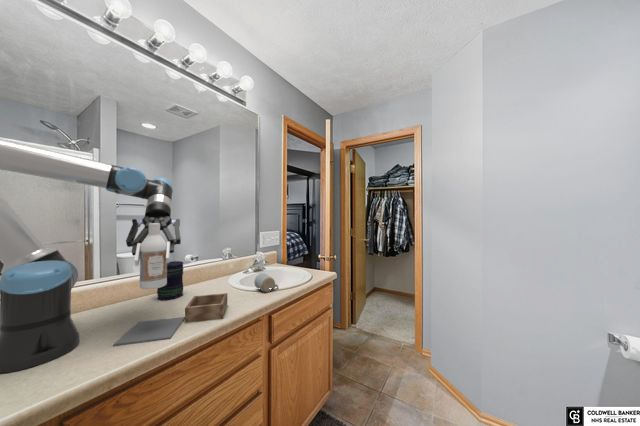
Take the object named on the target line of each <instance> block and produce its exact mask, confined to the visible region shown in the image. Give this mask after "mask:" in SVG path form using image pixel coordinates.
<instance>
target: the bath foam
mask: <svg viewBox="0 0 640 426" xmlns="http://www.w3.org/2000/svg"><path fill="white" fill-rule="evenodd" d="M166 250H167V242H166V241H165V239H164V238H163V237H162V235H161V230H160V223H150V224H149V234H148V235H147V237H146V238H145V239H144V241H143V242H142V243H141V249H140V261H139V289H141V290H146V291H147V290H154V289H157V288H160V287H163V286H165V285H166V284H167V263H166Z"/></svg>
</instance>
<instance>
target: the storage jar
mask: <svg viewBox="0 0 640 426" xmlns="http://www.w3.org/2000/svg"><path fill="white" fill-rule="evenodd" d="M183 275H184V261H181V260H177V261H176V260H175V261H174V260H173V261H169V263H167V284H166V285H165V286H163V287H160V288H156V289H157V290H156V291H157V292H156V294H157V298H156V299H157V301H162V302H163V301H164V302H167V301H172V300H177V299H180V298H182V297H183V296H184V282H183V279H184V278H183Z"/></svg>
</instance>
